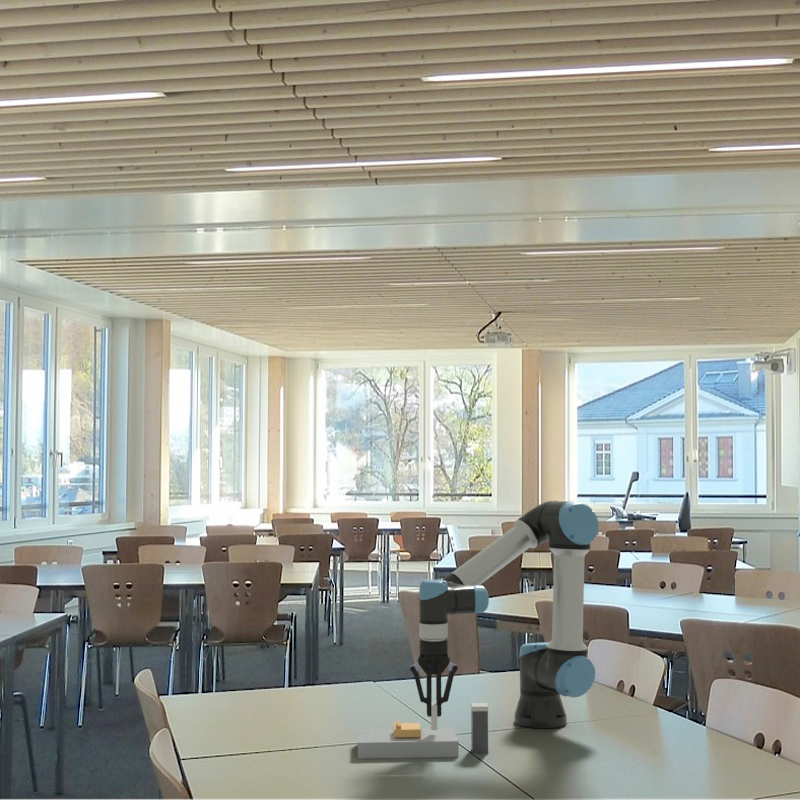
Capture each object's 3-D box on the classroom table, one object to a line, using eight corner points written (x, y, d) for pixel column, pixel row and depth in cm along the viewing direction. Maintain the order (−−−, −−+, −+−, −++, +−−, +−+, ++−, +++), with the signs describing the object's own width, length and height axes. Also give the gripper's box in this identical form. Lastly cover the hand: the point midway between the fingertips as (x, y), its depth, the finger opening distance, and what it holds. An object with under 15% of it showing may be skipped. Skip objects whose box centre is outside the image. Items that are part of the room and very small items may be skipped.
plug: (486, 749, 287) (486, 702, 287) (488, 753, 282) (488, 706, 283) (471, 749, 286) (470, 703, 287) (472, 753, 282) (472, 706, 283)
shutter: (419, 730, 290) (419, 719, 290) (421, 737, 283) (421, 726, 283) (393, 730, 289) (393, 720, 290) (394, 737, 282) (394, 726, 283)
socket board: (454, 742, 293) (454, 727, 293) (458, 756, 279) (458, 741, 279) (358, 744, 292) (358, 729, 293) (357, 758, 278) (357, 742, 279)
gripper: (456, 636, 292) (457, 725, 290) (408, 636, 291) (408, 725, 290) (459, 640, 284) (459, 732, 283) (409, 641, 284) (410, 732, 282)
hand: (434, 728), depth 286 cm, fingers closed
